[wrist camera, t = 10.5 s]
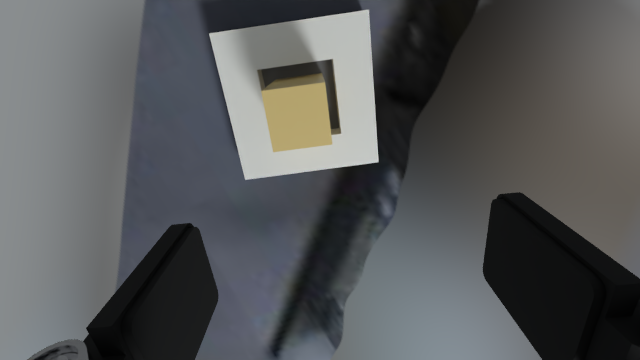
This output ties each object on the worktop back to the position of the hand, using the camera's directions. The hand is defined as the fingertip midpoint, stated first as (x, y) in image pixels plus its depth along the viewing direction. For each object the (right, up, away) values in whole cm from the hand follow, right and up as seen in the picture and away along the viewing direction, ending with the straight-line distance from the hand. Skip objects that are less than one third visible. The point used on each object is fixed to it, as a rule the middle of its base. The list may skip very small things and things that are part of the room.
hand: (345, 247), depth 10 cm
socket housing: (-2, +9, +18) cm, 20 cm away
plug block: (-2, +9, +17) cm, 20 cm away
